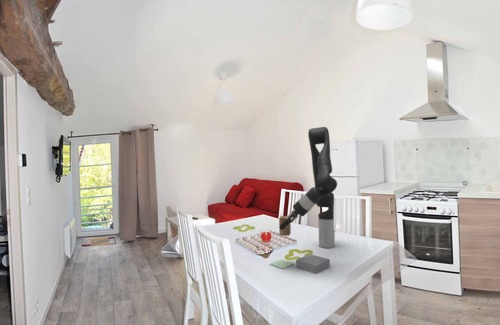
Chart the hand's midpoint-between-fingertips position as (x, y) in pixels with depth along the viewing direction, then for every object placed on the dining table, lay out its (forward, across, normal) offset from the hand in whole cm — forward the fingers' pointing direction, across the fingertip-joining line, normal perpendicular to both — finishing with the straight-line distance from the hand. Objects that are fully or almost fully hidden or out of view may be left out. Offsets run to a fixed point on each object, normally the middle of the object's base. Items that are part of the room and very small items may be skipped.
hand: (281, 227), depth 169 cm
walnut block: (+1, 0, +4) cm, 4 cm away
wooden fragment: (+24, -20, +5) cm, 32 cm away
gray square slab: (+3, 0, +25) cm, 25 cm away
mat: (+14, 0, +14) cm, 20 cm away
